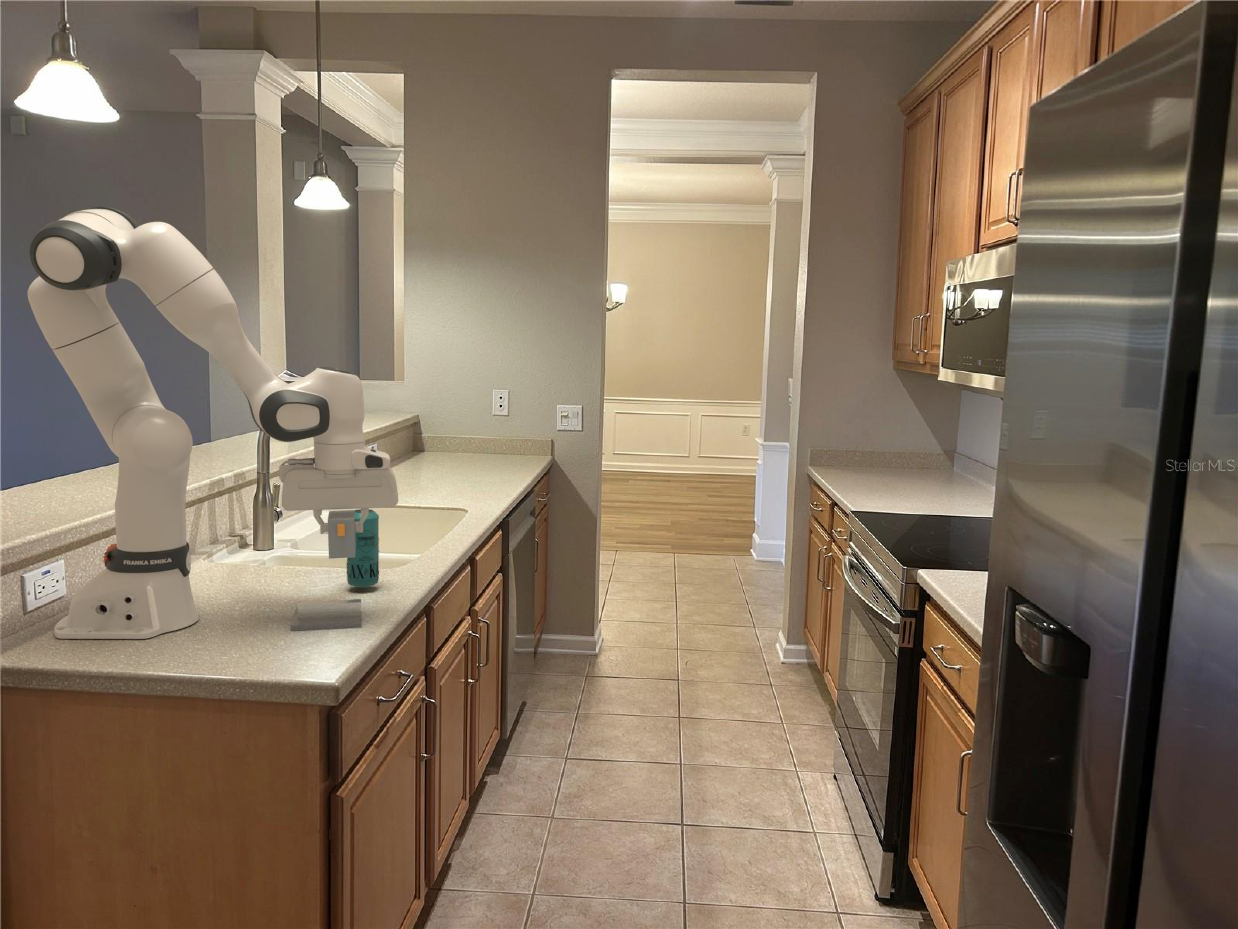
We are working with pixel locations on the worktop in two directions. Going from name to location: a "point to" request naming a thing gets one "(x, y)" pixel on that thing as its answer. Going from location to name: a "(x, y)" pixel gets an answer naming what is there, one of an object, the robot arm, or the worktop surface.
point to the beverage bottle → (365, 553)
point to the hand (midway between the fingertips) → (342, 532)
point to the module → (341, 534)
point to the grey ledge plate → (327, 615)
